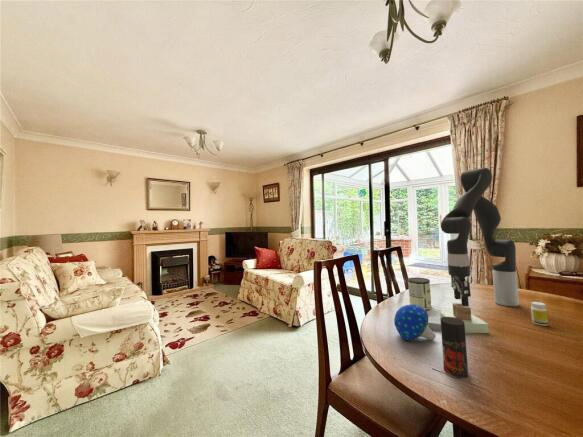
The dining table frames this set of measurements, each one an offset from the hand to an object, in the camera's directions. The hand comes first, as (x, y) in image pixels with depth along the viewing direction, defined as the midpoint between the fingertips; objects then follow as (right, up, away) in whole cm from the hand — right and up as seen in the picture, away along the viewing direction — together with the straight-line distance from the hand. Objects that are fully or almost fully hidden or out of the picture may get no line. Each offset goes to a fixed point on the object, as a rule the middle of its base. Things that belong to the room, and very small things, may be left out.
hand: (461, 302), depth 98 cm
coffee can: (-4, -11, +24) cm, 27 cm away
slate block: (-11, -11, 0) cm, 15 cm away
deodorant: (-23, -10, -29) cm, 39 cm away
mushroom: (-25, -11, -9) cm, 28 cm away
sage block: (0, -10, 0) cm, 10 cm away
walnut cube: (0, -6, 0) cm, 6 cm away
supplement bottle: (+32, -9, -2) cm, 33 cm away
